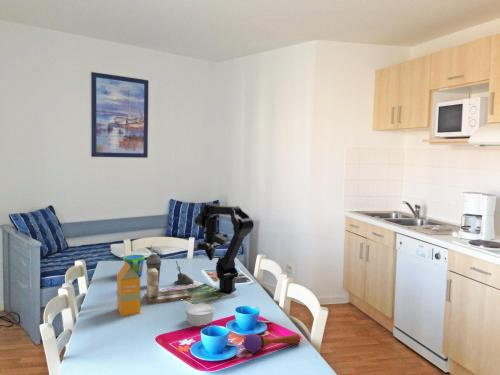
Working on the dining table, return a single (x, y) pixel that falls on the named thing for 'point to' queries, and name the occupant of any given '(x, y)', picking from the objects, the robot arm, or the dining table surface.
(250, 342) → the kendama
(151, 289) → the slider block
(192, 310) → the ramekin
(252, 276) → the dining table surface
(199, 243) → the robot arm
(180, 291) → the gauge board
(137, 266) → the snack cup
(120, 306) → the orange juice
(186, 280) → the sword in stone
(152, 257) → the beverage cup
